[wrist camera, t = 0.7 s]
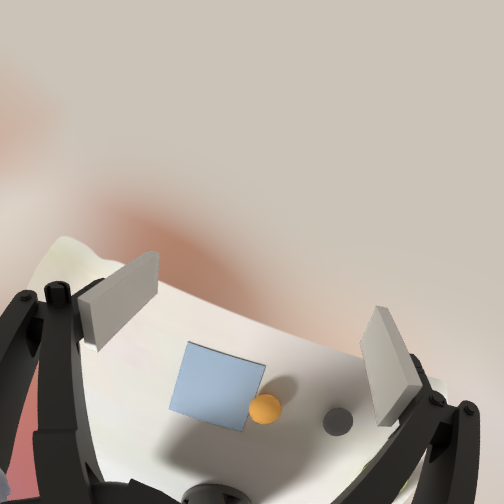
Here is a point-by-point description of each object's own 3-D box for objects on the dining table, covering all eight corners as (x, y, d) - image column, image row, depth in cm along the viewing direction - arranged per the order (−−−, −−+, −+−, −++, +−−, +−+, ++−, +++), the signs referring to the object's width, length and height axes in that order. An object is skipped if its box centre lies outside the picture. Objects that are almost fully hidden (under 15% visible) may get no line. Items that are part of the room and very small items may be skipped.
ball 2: (348, 422, 44) (359, 433, 39) (322, 432, 44) (330, 445, 38) (344, 400, 45) (355, 410, 40) (317, 409, 45) (325, 421, 39)
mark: (265, 366, 46) (265, 366, 45) (241, 431, 43) (241, 431, 43) (187, 342, 46) (187, 342, 46) (168, 408, 44) (168, 409, 43)
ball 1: (282, 411, 44) (286, 424, 39) (252, 419, 44) (254, 432, 39) (275, 386, 45) (279, 397, 40) (244, 394, 45) (245, 405, 39)
